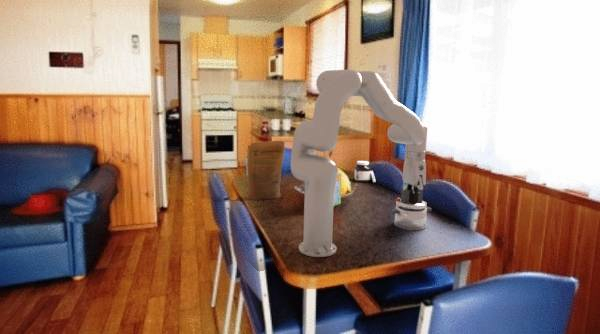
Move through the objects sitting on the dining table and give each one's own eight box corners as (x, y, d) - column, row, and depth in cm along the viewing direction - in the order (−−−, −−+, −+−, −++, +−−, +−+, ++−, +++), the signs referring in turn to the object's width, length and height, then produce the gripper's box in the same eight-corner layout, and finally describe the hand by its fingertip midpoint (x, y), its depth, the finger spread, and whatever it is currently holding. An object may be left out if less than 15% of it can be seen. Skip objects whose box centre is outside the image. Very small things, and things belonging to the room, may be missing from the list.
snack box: (331, 202, 194) (332, 171, 191) (341, 204, 190) (342, 172, 187) (303, 211, 178) (304, 178, 175) (313, 214, 174) (314, 180, 171)
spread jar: (352, 179, 242) (353, 160, 240) (369, 178, 245) (370, 159, 243) (361, 184, 231) (362, 164, 229) (379, 183, 234) (380, 163, 232)
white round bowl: (432, 208, 157) (433, 192, 156) (405, 210, 154) (406, 194, 152) (416, 200, 168) (417, 185, 166) (390, 202, 164) (391, 187, 163)
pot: (437, 228, 159) (439, 210, 158) (398, 232, 154) (399, 212, 153) (420, 219, 170) (421, 201, 169) (383, 222, 166) (384, 204, 164)
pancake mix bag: (286, 198, 197) (287, 141, 192) (248, 202, 190) (247, 142, 185) (281, 195, 204) (282, 139, 198) (244, 198, 197) (244, 140, 191)
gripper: (435, 158, 150) (431, 206, 154) (412, 152, 165) (408, 195, 169) (418, 159, 148) (414, 207, 152) (395, 152, 163) (392, 196, 167)
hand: (411, 201), depth 160 cm, fingers closed on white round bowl, 2 cm apart
